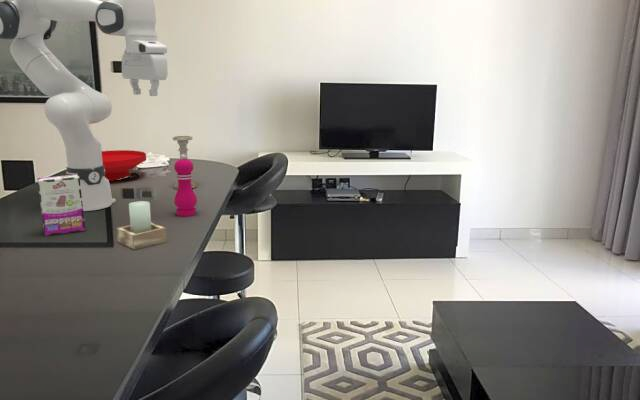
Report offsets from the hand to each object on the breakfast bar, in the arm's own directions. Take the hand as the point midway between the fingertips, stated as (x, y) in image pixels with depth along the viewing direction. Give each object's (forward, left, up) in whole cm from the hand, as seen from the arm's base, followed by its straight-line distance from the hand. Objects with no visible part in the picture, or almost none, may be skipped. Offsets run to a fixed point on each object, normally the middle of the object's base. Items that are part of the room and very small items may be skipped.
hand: (145, 95), depth 164 cm
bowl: (-72, +22, -39) cm, 85 cm away
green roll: (+16, -13, -38) cm, 43 cm away
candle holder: (-34, +34, -39) cm, 62 cm away
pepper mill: (0, +12, -39) cm, 41 cm away
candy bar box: (-9, -24, -39) cm, 47 cm away
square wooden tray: (+16, -13, -39) cm, 44 cm away
